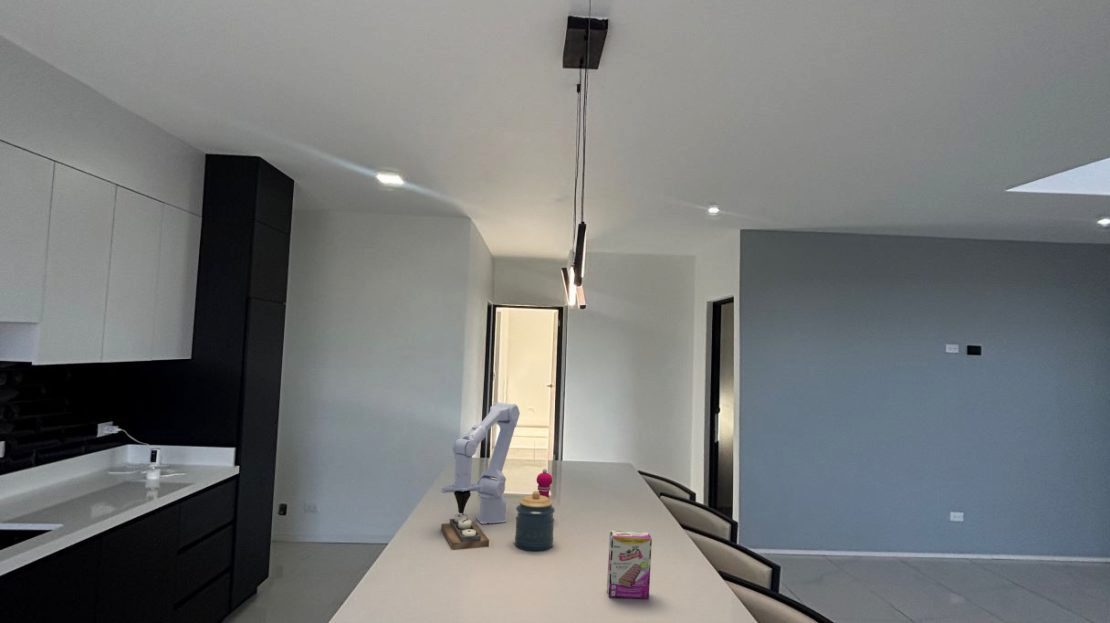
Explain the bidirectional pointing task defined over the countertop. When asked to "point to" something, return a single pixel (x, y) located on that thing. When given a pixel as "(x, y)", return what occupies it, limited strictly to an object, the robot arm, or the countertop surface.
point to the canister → (534, 523)
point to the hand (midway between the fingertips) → (460, 512)
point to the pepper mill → (544, 483)
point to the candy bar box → (629, 564)
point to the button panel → (460, 542)
